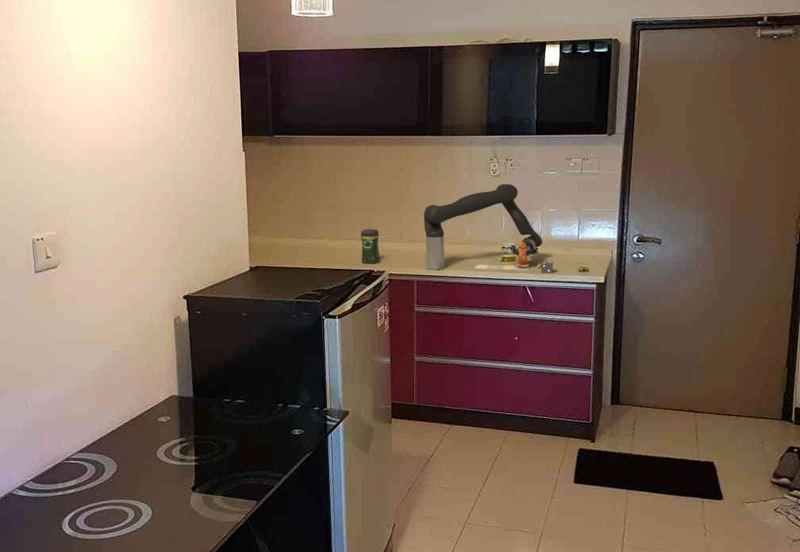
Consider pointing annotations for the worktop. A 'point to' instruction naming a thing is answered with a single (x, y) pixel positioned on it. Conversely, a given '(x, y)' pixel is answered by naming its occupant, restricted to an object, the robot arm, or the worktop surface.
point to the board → (501, 267)
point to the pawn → (522, 255)
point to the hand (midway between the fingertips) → (522, 253)
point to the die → (547, 267)
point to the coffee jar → (370, 246)
